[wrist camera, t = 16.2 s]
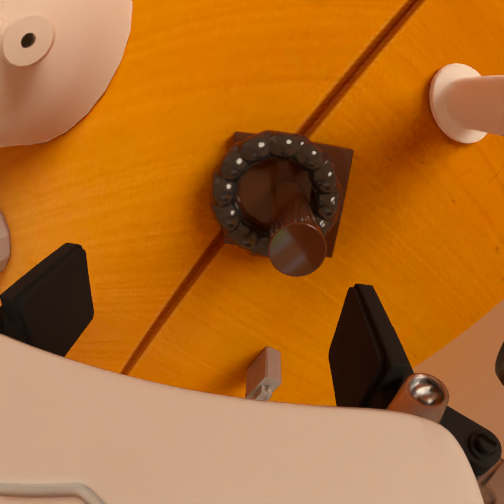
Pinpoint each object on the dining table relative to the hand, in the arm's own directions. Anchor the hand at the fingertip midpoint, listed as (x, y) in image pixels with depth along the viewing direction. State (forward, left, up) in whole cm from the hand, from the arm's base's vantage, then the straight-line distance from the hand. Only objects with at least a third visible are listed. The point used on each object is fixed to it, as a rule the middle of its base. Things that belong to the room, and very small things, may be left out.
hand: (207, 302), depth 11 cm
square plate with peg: (-3, 0, -16) cm, 16 cm away
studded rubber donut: (-2, 0, -14) cm, 14 cm away
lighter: (-3, +19, -16) cm, 25 cm away
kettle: (+21, -13, -16) cm, 29 cm away
